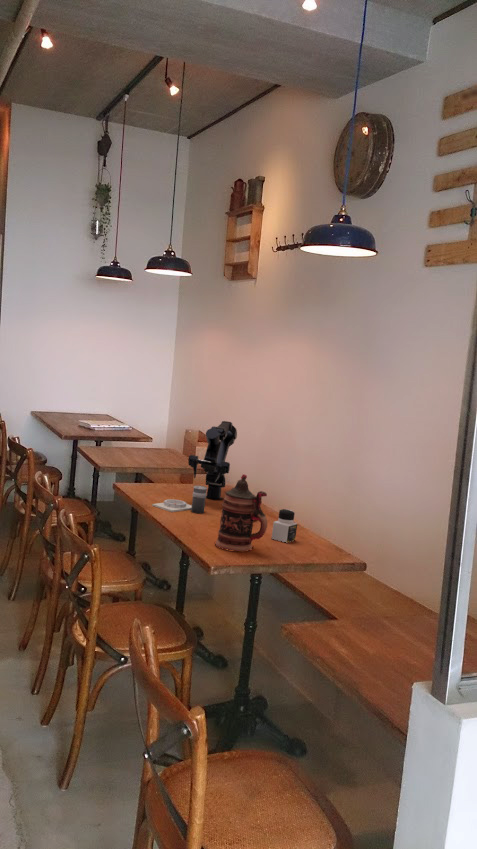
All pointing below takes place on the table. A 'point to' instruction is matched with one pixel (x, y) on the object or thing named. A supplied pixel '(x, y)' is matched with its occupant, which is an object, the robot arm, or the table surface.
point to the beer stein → (240, 518)
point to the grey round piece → (198, 499)
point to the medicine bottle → (284, 526)
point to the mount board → (160, 505)
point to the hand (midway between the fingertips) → (204, 480)
